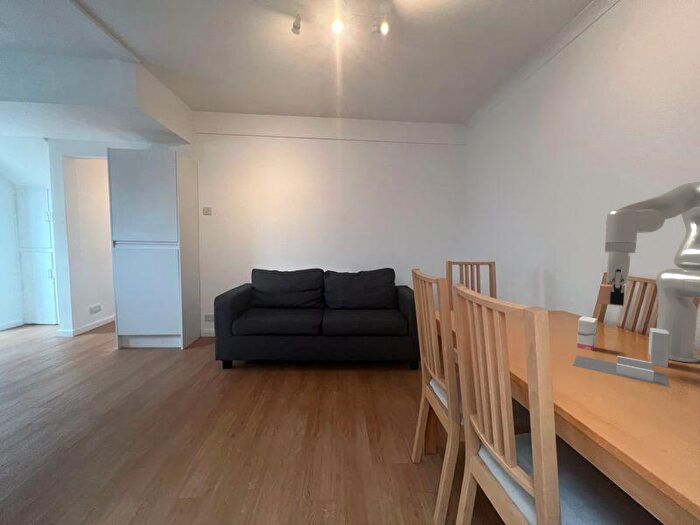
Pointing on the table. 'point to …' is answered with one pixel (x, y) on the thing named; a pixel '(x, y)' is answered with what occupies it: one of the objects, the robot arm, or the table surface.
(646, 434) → the table surface
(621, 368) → the channel base
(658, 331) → the skincare box
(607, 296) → the block
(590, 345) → the ink box
